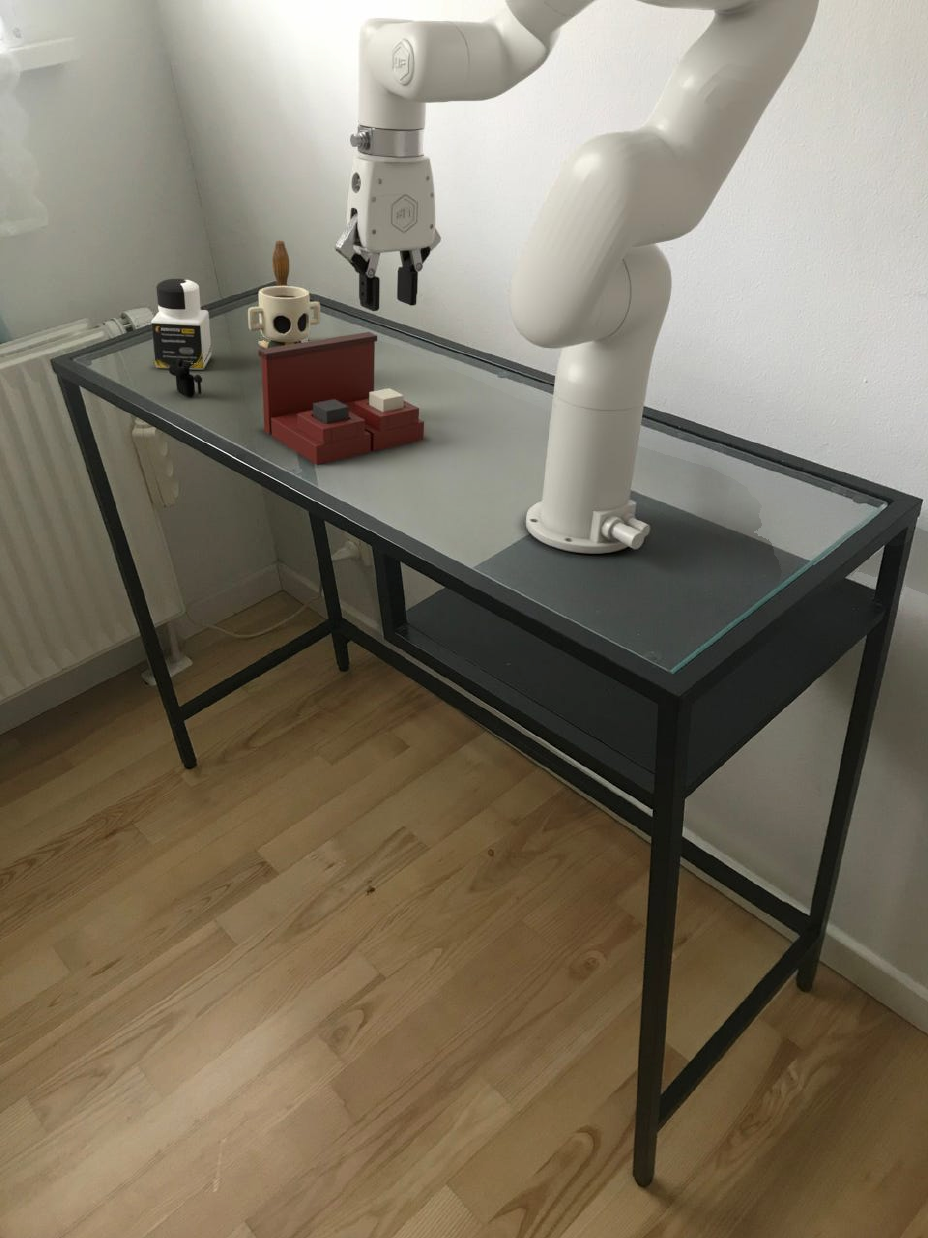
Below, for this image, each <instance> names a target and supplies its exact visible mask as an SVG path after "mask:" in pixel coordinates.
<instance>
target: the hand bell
mask: <svg viewBox="0 0 928 1238" xmlns="http://www.w3.org/2000/svg"><path fill="white" fill-rule="evenodd" d="M288 253H289V252H288V251H287V248H286V244H285V241H283V240H277V241H275V245H274V250H273V253H272V270H273V275H274V277H275V281H276V286H288V279H289V275H290V258H289V254H288ZM268 343H269V342H266V341H264V340H263V341H259V340H258V345H259V347H261V348H262V349H266V348H267V346H268Z"/></svg>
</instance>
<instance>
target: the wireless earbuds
mask: <svg viewBox="0 0 928 1238" xmlns="http://www.w3.org/2000/svg"><path fill="white" fill-rule="evenodd" d="M177 365H178V366H177ZM177 365H175V364H171V365H170V368H169V369H168V371H169V374H170V375H171V376H173V377H175V384H176V386H175V387H176V391H177V392H178V393H179V394H182V396H183V395H184V396H186V397H189V398H190V397H194V396H195V394H196V386H195V385H196V384H195V383H197V393H198V395H202V394H203V393H202V382H203V378H202V376H201V375H200V374H196V375H193V374H191V373H190V370H189V369H190V367H191V366H190V363H189V362H188V361H183V360H182V359H180V358H178V359H177ZM181 366H183V367H181Z"/></svg>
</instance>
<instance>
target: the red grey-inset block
mask: <svg viewBox="0 0 928 1238" xmlns="http://www.w3.org/2000/svg"><path fill="white" fill-rule="evenodd" d="M271 429H272V434H271V437H272V438H274V439H276V440H277V441H279V442H281V443H282V444H284V445H285V446H287V447H288V448H289V449H291V450H293V451H294V452H296V453H298V454H299V455H301V456H302V457H304V458H305V459H307V460H309V461H311V462H312V463H313V464H315V465H317V466H318V465H322V464H327V463H331V462H335V461H339V460H342V459H346V458H348V459H349V458H351V457H356V456H361V455H364V454H368V453H372V452H371V451H372V450H371V434H370V433H369V432H367V431H365V420H364V419H362V418H360V417H359V416H357V415H355V414H353V413H351V412H350V411H349V420H344V421H340V422H335V423H330V424H327V425H326V424H325V423H323V422H321V421H320V420H318V419H316V418H314V417H313V410H308V411H303V412H298V413H293V414H288V415H283V416H278V417H273V418H271Z"/></svg>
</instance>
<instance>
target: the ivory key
mask: <svg viewBox="0 0 928 1238" xmlns="http://www.w3.org/2000/svg"><path fill="white" fill-rule="evenodd" d="M404 401H405V395H404V394H402V393H400V392H398V391H396V390H394V389H392V388H390V387H389V388H383V389H379V390H374V391H373V392H369V405H370V406H372V407H374V408H376V409H378V410H380V411H381V412H386V411H391V410H396V409H400V408H403V406H404Z"/></svg>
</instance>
